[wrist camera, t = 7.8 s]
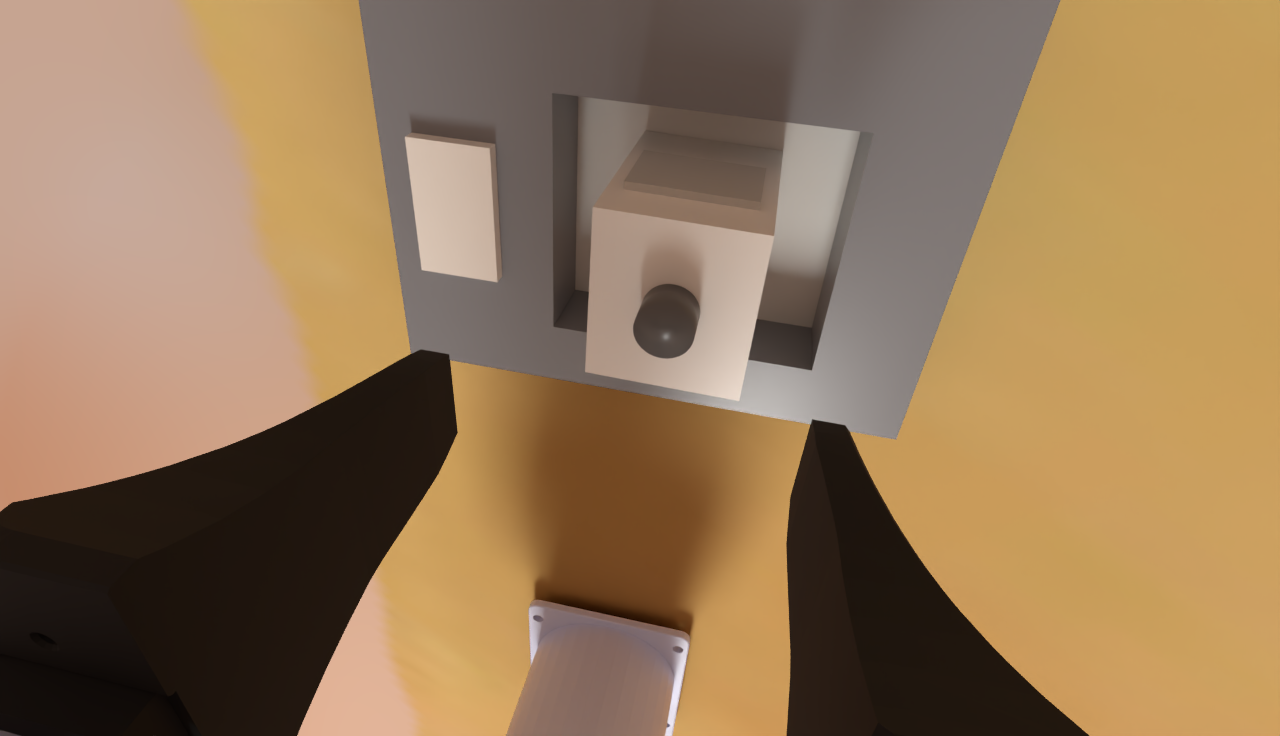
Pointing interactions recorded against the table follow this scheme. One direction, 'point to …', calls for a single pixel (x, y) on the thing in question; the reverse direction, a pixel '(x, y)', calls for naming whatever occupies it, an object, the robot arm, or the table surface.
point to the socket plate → (712, 110)
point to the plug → (681, 263)
